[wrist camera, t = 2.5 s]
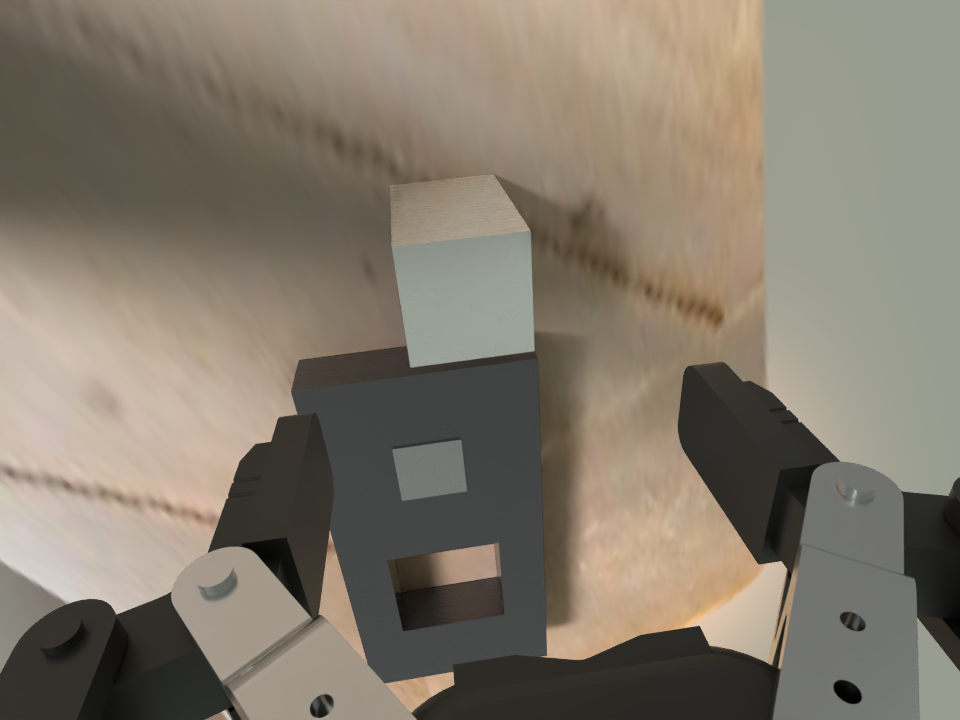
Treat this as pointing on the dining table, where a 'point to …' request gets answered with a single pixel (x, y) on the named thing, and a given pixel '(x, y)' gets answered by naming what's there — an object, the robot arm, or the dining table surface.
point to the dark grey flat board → (433, 501)
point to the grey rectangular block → (461, 270)
